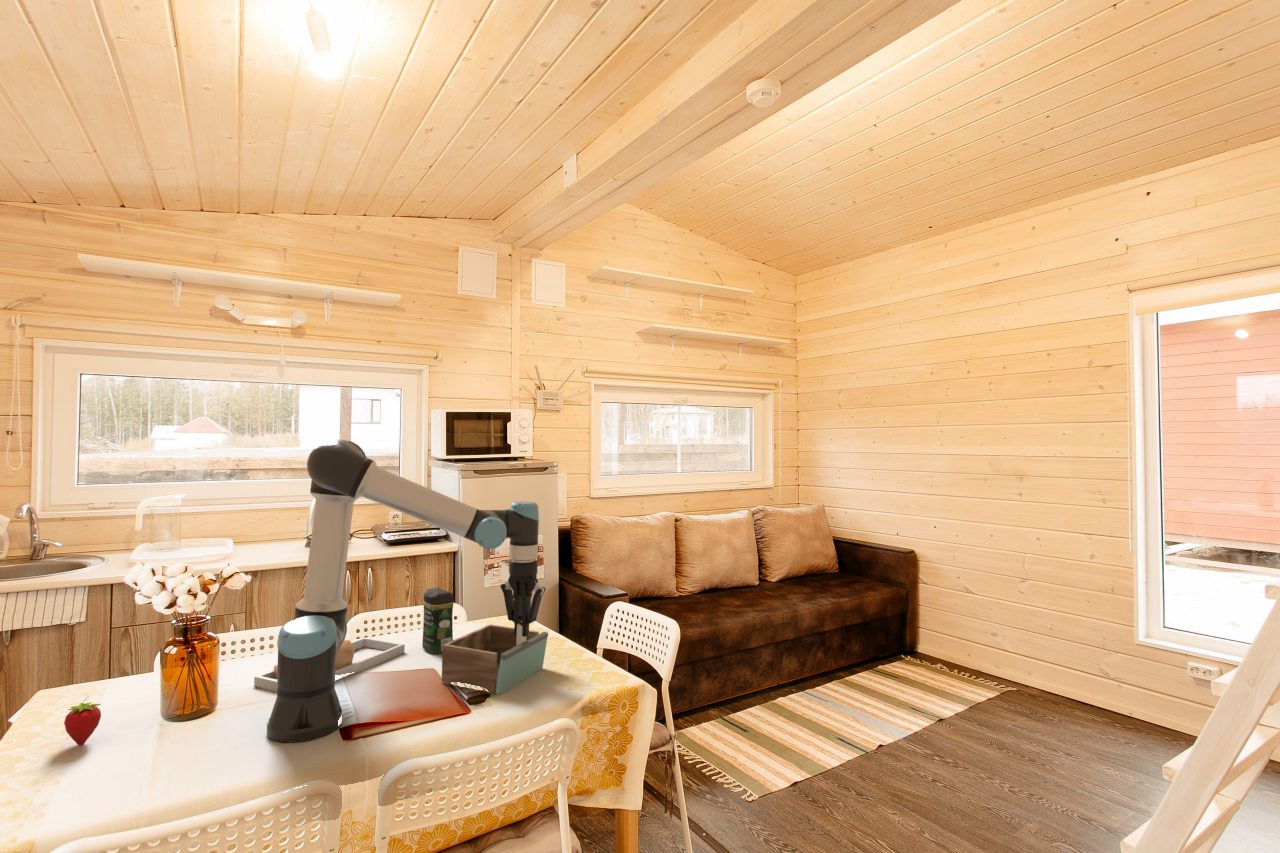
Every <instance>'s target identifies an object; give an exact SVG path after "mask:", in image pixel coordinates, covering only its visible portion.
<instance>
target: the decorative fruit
mask: <svg viewBox="0 0 1280 853" xmlns="http://www.w3.org/2000/svg"><path fill="white" fill-rule="evenodd" d="M88 697H89V695H88V696H87V697H86V698H85V699H84V700H83V702H80V704H79V705H75V706H71V707H70V708H69V709H67V710H68V711H70V712H68V714H67V715H65V719H64V721H63V724H64V729H65V731H66V733H67V734H68V736H69V737H70V738H71V739H72V741H74V742H75V743H76V744H77V745H78V746H83V745H84V744H86V742H87V740H88V739H89V738H90V737H91V736H92V735H93V733H94V732H95V731H96V729H97V728H98V726H99V723H100V721H101V719H102V718H101V717H102V712H101V709H100V708H99V707H97V706H101V705H102V703H92V701H90V702H86V703H84V702H85V701H86V700H87V699H88Z"/></svg>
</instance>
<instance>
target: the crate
mask: <svg viewBox="0 0 1280 853" xmlns="http://www.w3.org/2000/svg"><path fill="white" fill-rule="evenodd" d="M538 634H540V632H539V631H538V630H530V629H529V635H528V636H526V641H527V640H529V639H531V638H533V637H535V636H537V635H538ZM516 641H517V635H515V634H514V627H510V626H509V627H508V626H503V625H496V624H487V625H486V626H483V627H481V628H478V629H476V630H474V631H472V632H469V633H467V634H465V635H462V636H460V637H458V638H455V639H453V641H451V642H448V643H446V644H444V645H443V646H442V653H441V658H442V659H441V683H442V682H444V683H445V684H444V685H448V686H450V685H449V684H450V683H451V682H460V683H467V684H471V685H476V686H480V687H483V688H486V689H487V690H488V691H489V693H488V694H492V695H495V694H496V693H495V692H496V685H497V679H498V672H499V666H500V657H501V654H502V653H504V652H506V651H508V650H510V649H512V648H513V647H515V646H516Z"/></svg>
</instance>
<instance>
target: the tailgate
mask: <svg viewBox="0 0 1280 853" xmlns="http://www.w3.org/2000/svg"><path fill="white" fill-rule="evenodd" d="M548 637H549V632H547V631H543V632H539V634H538V635H537V636H535V637H533V638H531V639H529V640H527V641H525V642H523V643H521V644H519V645H517V646H515V647H513V648H512V649H510V650H508V651H506V652H504V653H502V654H501V657H500V666H499V672H498V679H497V685H496V692H495V694H496V695H501V694H504V693H505V692H506V691H508V690H509V689H511V688H513V687H515V686H516V685H517V684H519V683H521V682H523V681H524V680H526V679H527V678H529V677H530V676H532V675H533V674H535V673H537V672H538V671H540V670H542V669H543V668H544V662H545V661H544V660H545V657H546V656H545V654H546V649H547V641H548Z"/></svg>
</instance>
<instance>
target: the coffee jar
mask: <svg viewBox="0 0 1280 853" xmlns="http://www.w3.org/2000/svg"><path fill="white" fill-rule="evenodd" d="M423 593H424V594H423V601H422V603H423V625H422V626H423V628H422V648H423V649H424V650H425V651H426V652H428V653H430V654H442V646H443V645H444V644H446V643H448V642H451V641H453V640H454V639H453V638H454V637H453V636H454V634H453V608H454V604H455V602H454V601H455V600H454V593H453V592H451V591H449V590H446V589H443V588H441V587H433V588H427V589H426V590H425V591H424V592H423Z"/></svg>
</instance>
